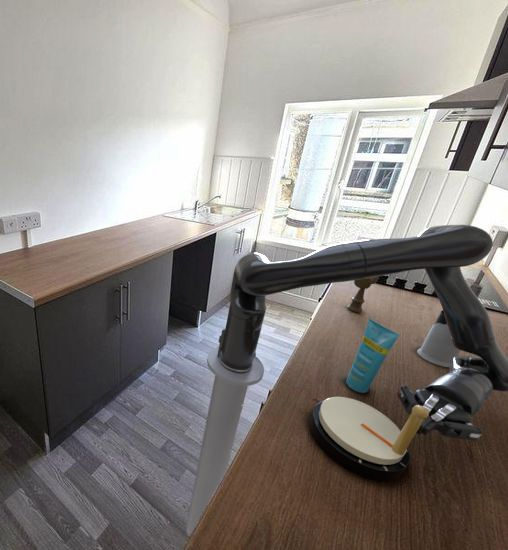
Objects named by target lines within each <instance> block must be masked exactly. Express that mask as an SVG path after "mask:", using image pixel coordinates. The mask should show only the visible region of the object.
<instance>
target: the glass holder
mask: <svg viewBox="0 0 508 550" xmlns="http://www.w3.org/2000/svg"><path fill="white" fill-rule="evenodd" d="M461 352H462V351H461V350H459V349H457V348H455V347H454V345H453V343H452V340H451V337H450V333H449V329H448V326H447V322H446V318H445V315H444V311H443V309H442V310H441V311H440V313H439V314H438V316H437V318H436V320H435V321H434V323H433V324H432V326H431V328H430V330H429V332H428V334H427V336H426V337H425V339H424V341H423V343H422V345H421V347H420V348H418V349H417V351H416V353H417V354H418V355H419V356H420V358H421V359H424V360H426V361H427V362H429V363H431V364H434V365H437V366H440V367H443V368H449V364H450V360H451V359H452V358H453V357H456V356H459V355H460V353H461Z"/></svg>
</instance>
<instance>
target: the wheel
mask: <svg viewBox="0 0 508 550" xmlns="http://www.w3.org/2000/svg"><path fill="white" fill-rule="evenodd" d="M324 400H325V401H324ZM324 400H322V401H323V403H322V404H321V407H320V409H319V419H320V422H321V424H322V426H323V428H324V429H325V431H326V432H327V433H328V435H329V436H330V437H331V438H332V439H333V440H334V441H335V442H336V443H338V444H339V445H340V446H341V447H343V448H344V449H346V450H347V451H349V452H350V453H352V454H354V455H355V456H357V457H360V458H362V459H364V460H367V461H370V462H373V463H377V464H383V465H391V464H395V463H398V462H399V461H401V460H402V458H403V457H404V455H405V453H406V451H407V448H408V449H409V446H410V445H411V443H412V441H413V440H414V438H415V436H416V434H417V431H418V429H419V428H420V426H421V424H422V423H423V421H424V419H425V418H427V417H430V416H429V412H428V410H427V409H426V408H425V407H423V406H420V405H416V406H414V407H413V408H412V413H411V414H409V416H408V418H407V420H406V422H405V424H404V425H403V427H402V429H401V430H400V428H399V427H398V426H397V425H396V424H395V423H394V422H393V421H392V420H391V419H390V418H389V417H388V416H387V415H385V414H383V413H382V412H381V411H379V410H377V409H376V408H375V407H373V406H371V405H369V404H367V403H365V402H362V401H360V400H357V399H354V398H350V397H346V396H332V397H328V398H326V399H324Z"/></svg>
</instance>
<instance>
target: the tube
mask: <svg viewBox="0 0 508 550" xmlns="http://www.w3.org/2000/svg"><path fill="white" fill-rule="evenodd" d="M399 336H400V333H398V332H396V331H394V330H392V329H390V328H388V327H386V326H384V325H382V324H380V323H378V322H377V321H376V320H373V319H372V318H371V317H369V318H368V321H367V324H366V328H365V330H364V334H363V336H362V339H361V343H360V344H359V348H358V349H357V352H356V355H355V358H354V361H353V363H352V366H351V368H350V371H349V373H348V376H347V378H346V381H345V383H346V385H347V386H348V388H350V389H351V390H352V391H355V392H357V393H361V394H365V393H367V392H368V391H369V389H370V388H371V386H372V384H373V381H374V380H375V378H376V376H377V375H378V372H379V371H380V369H381V367H382V365H383V363H384V361H385V360H386V358H387V356H388V354H389V353H390V351H391V349H392V347H393V346H394V344H395V342H397V340H398V339H399Z"/></svg>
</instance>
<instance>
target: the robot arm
mask: <svg viewBox="0 0 508 550" xmlns="http://www.w3.org/2000/svg"><path fill="white" fill-rule="evenodd" d="M493 247H494V241H493V238H492V235H490V233H488V232H487V231H486V230H484V229H483V228H480V227H478V226H475V225H470V224H443V225H433V226H430V227H427V228H425V229H424V230H422V231H421V232H420V233H419V234H418V235H416V236H412V237H411V236H410V237H401V238H400V237H399V238H398V237H397V238H374V239H373V238H371V239H361V240H353V241H347V242H339V243H334V244H329V245H327V246H324V247H322V248H319V249H317V250H316V251H314V252H312V253H310V254H308V255H306V256H304V257H301V258H297V259H293V260H284V261H274V262H271V261H270V259H268V257H266V256H265V255H263V254H261V253H258V252H250V253H246V254H244V255H243V256H241V257H240V258H239V260H238V261H237V262H236V264H235V266H234V270H233V275H232V281H231V285H230V286H231V288H230V293H229V300H230V301H229V307H228V313H227V319H226V323H225V328H224V329H222V330H221V334H220V335H219V337H218V343H219V345H218V347H219V349H218V355H217V357H219V362H220V364H221V365H222V366H223V367H224V368H225V369H227V370H229V371H231V372H234V373H247V372H249V371H250V370H251V369H252V365H253V360H254V356H255V357H257V354H256V353H257V352H256V351H257V348H258V345H259V340H260V335H261V331H262V328H263V323H264V319H265V316H266V312H267V303H266V296H270V295H275V294H279V293H282V292H287V291H292V290H296V289H301V288H307V287H314V286H320V285H321V286H322V285H327V284H334V283H345V282H354V280H360V279H366V278H372V277H378V276H379V277H383V276H388V275H394V274H398V273H403V272H409V271H416V270H424V271H425V273H426V274H427V276H428V279H429V281H430V283H431V286H432V287H433V290H434V292H435V294H436V296H437V299H438V301H439V302H440V306H441V308H442V310H443V311H444V315H445V318H446V322H447V326H448V329H449V333H450V337H451V340H452V343H453V345H454V347H455V348H457V349H459V350H461V351H460V352H464V353H468V354H471V355H458V356H456V357H453V358H452V359H451V360H450V364H449V367H448V372H447V373H446V374H444V375H441V376H440V377H438V378H436V379H435V380H434V381H432V382H430V384H428V385H427V386H426V387H424V388H423V389H416V390H415V391H414V390H411V389H410V388H409V387H408V386H407V385H404V384H402V385H401V387H400V388H399V390H398V392H397V394H396V395H397V397H398V399H399V401H400V403H401V405H402V407H403V409H404V411H405V413H406V414H408V415H410V414H411V413H412V408H413V407H414V406H416V405H420V406H423V407H425V408H426V409H427V410H428V412H429V416H428V417H427V418H425V419H424V421H423V423H422V424H421V426H420V428H419V429H418V431H417V433H416V434H417V435H418V436H420V435H421V434H422V435H424V436H427V435H429V434H430V433H431V432H432V431H435V430H436V431H438V433H439V434H440V435H442V436H444V437H447V438H453V439H461V440H465V441H466V440H467V441H471V442H472V441H473V442H477V441H478V440H479V439H480V438H481V436H482V434H483V433H484V431H485V430H484V429H483V428H482V427H480V426H478V425H473V424H472V417H473V416H474V415H475V414H476V413H478V412H479V411H480V409H481V408H482V407H483V406H484V403H485V401H486V400H487V399H488V398H490V396H491V395H492V393H493V392H494V391H496V392H505V393H506V392H508V357H507V356H506V355H505V353H504V352H503V350H502V348H501V347H500V345H499V343H498V341H497V339H496V335H495V331H494V328H493V327H494V326H493V323H492V320H491V317H490V315H489V312H488V311H487V308H486V307H485V306H484V304H483V303H482V301H481V300H480V299H479V297H478V296H477V295H476V293H475V292H474V291H473V290H472V289H471V287H470V285H469V284H468V282H467V280H466V279H465V276H464V275H463V272H462V268H464V267H468V266H472V265H475V264H477V263H480V262H481V261H482V260H484V259H485V258H486V257H487V256H488V255H489V254H490V253H491V251H492V249H493ZM472 355H475V356H472Z"/></svg>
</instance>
